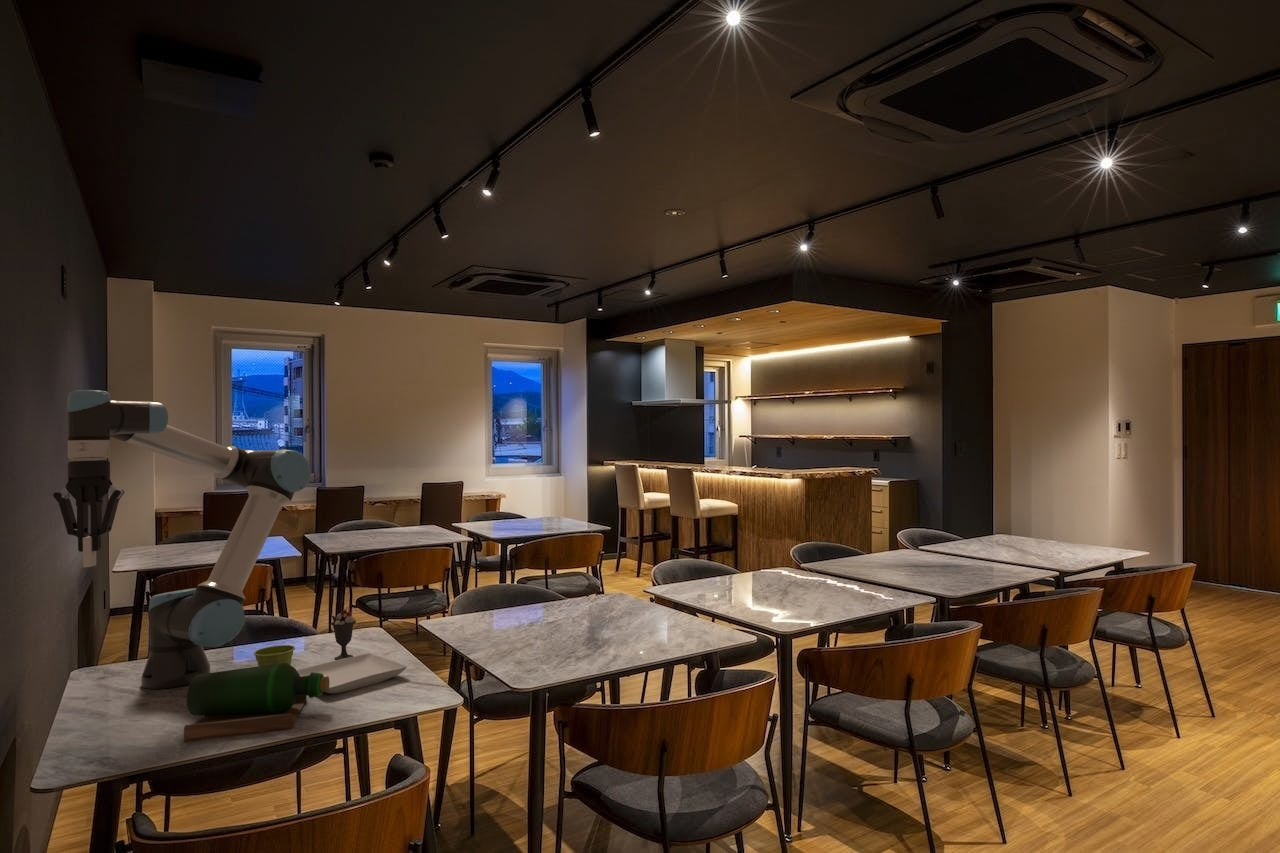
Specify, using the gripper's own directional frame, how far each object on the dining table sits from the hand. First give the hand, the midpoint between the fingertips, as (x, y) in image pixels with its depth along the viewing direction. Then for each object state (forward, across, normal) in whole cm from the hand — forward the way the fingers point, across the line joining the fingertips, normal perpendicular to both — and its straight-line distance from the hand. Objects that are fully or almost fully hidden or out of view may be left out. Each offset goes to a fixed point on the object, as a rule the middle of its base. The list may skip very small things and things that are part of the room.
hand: (89, 566), depth 160 cm
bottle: (+29, +22, -6) cm, 37 cm away
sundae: (+35, +48, +34) cm, 68 cm away
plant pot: (+35, +34, +15) cm, 51 cm away
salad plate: (+35, +52, +12) cm, 64 cm away
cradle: (+34, +34, -10) cm, 49 cm away
